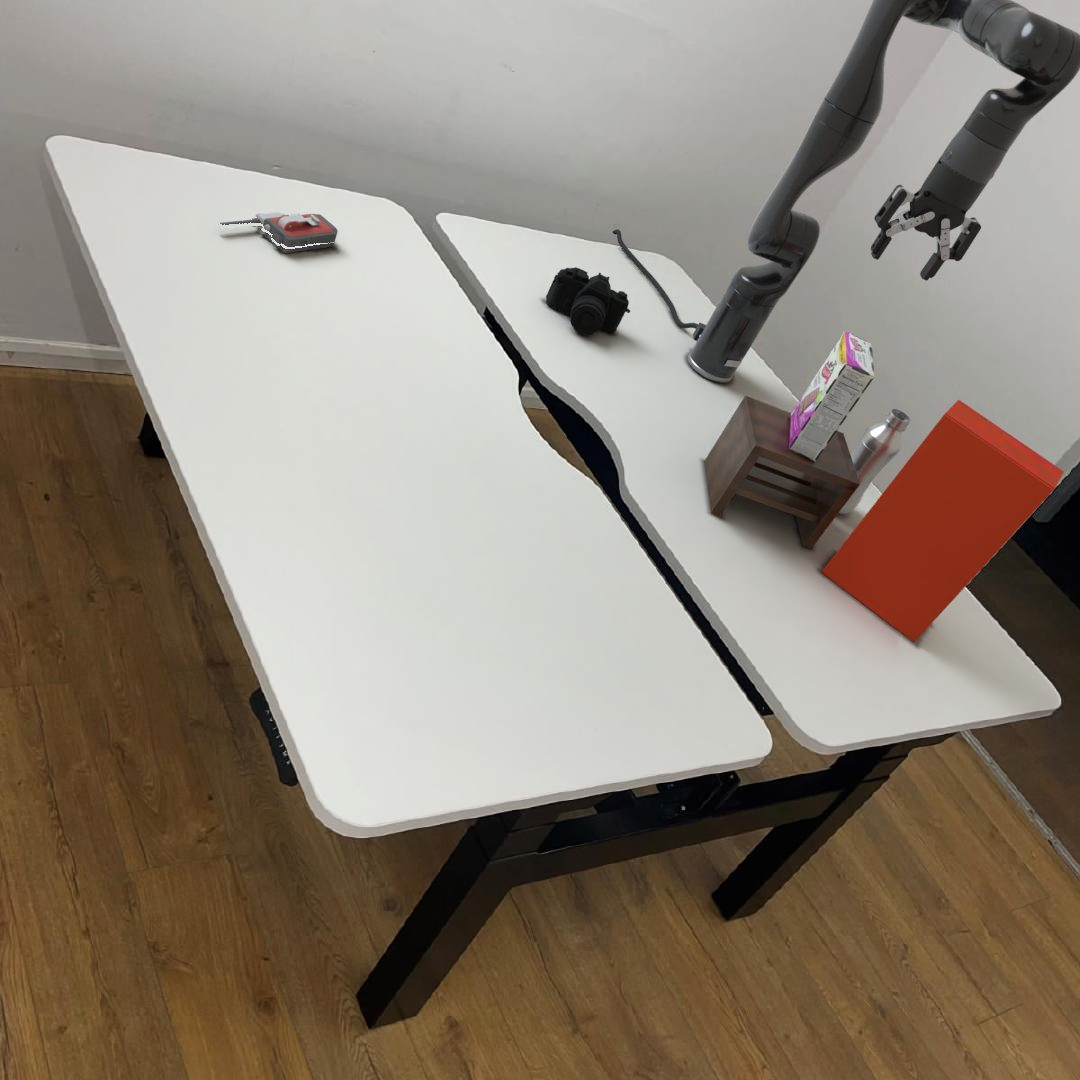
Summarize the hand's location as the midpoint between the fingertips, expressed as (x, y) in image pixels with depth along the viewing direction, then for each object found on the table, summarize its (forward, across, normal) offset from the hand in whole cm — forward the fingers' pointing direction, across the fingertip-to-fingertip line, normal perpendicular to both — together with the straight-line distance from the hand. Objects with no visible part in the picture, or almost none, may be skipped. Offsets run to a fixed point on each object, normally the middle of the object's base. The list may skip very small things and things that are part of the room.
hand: (898, 267), depth 157 cm
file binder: (+40, -16, +26) cm, 51 cm away
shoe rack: (+40, +3, +12) cm, 42 cm away
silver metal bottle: (+40, -13, +4) cm, 43 cm away
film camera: (+40, +35, -26) cm, 59 cm away
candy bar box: (+26, +3, +12) cm, 29 cm away
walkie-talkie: (+40, +89, -15) cm, 99 cm away
